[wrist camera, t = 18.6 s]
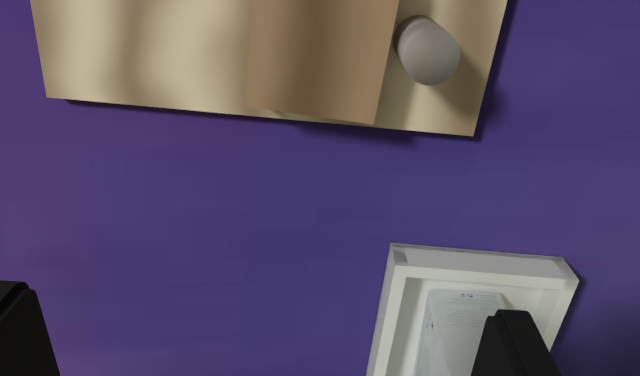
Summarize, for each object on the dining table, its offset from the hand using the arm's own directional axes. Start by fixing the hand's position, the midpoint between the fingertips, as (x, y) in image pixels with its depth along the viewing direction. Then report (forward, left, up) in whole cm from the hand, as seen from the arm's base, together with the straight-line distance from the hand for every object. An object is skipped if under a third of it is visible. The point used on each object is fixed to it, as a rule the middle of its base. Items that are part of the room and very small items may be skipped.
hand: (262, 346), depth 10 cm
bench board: (+3, -2, -25) cm, 26 cm away
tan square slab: (-1, -2, -24) cm, 24 cm away
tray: (-15, +23, -25) cm, 37 cm away
